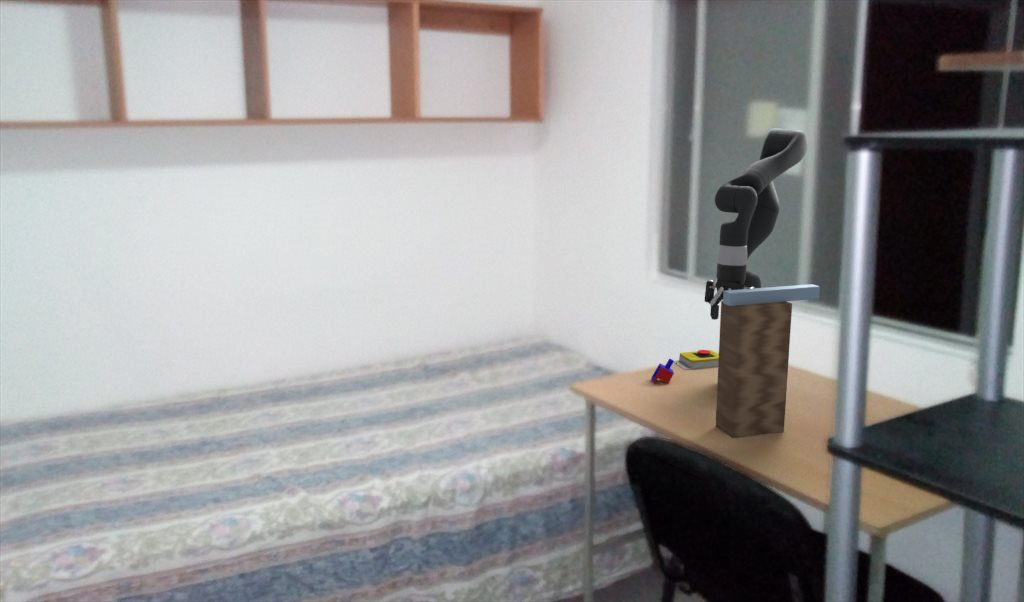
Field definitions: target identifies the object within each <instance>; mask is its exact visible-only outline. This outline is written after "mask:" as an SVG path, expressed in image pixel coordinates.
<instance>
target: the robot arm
mask: <svg viewBox="0 0 1024 602" xmlns="http://www.w3.org/2000/svg"><path fill="white" fill-rule="evenodd" d="M808 145H809V139H808V136H807V134H806V133H805V132H804V131H802V130H797V129H789V128H788V129H786V128H778V127H777V128H776V127H775V128H772V129H770V130H769V131H768V132H767V133H766V135H765V139H764V141H763V144H762V147H761V153H760V157H759V160H758V161H755V162H753V163H752V164H750V165H749V166H748V167H747V168H746V169H745V170H744V171H743V172H742V173H741V175H739V176H737V177H735V178H733V179H731V180H729V181H727V182H725V183H724V184H722V185H721V186H720V187H719V188H718V189H717V191H716V194H715V196H714V204H715V206H716V208H717V209H718V211H720V212H723V213H732V214H737V217H736V219H735V220H734V221H733V220H732V221H725V222H723V223H722V224H721V225H720V228H719V229H720V230H719V245H718V250H717V261H716V277H715V278H716V279H717V280H715V279H710V280H706V282H705V283H706V284H705V291H704V302H705V303H708V305H710V317H711V320H718V319H719V317H720V315H719V313H720V312H719V311H720V305H719V304H721V301H723V294H724V291H727V290H741V289H754V288H762V282H761V277H760V276H759V274H758V273H756V272H753V271H748V270H747V264H748V259H749V258H750V256H751V255H752V254H753V253H754V252H755V250H757V248H759V247H760V246H761V244H763V243H764V241H766V240H767V238H768V237H770V235H771V234H772V233H773V230H774V228H775V225H776V221H778V220H777V219H778V216H779V214H780V210H781V209H780V201H779V198H778V197H779V196H778V194H777V191H776V188H775V184H774V180H775V179H776V178H778V177H779V176H781V175H782V174H784V173H785V172H787V171H788V170H790V169H791V168H793V167H794V166H796V165H798V164H799V163H800V162H801V161H802V160H803V159H804V157H805V156H806V154H807V151H808V148H809V147H808ZM715 290H716V292H715Z"/></svg>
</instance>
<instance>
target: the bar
mask: <svg viewBox="0 0 1024 602" xmlns="http://www.w3.org/2000/svg"><path fill="white" fill-rule="evenodd" d="M820 288H821V286H819V285H816V284H811V283H809V284H798V285H797V284H796V285H783V286H782V285H781V286H771V287H761V288H754V289H741V290H727V291H724V294H723V300H722V301H723V303H724V304H726V305H729V306H735V305H747V304H760V303H772V302H785V301H786V302H793V301H794V302H797V301H807V300H809V301H810V300H819V299H820V293H821V292H820V291H821V289H820Z"/></svg>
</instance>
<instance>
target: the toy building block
mask: <svg viewBox="0 0 1024 602" xmlns="http://www.w3.org/2000/svg"><path fill="white" fill-rule="evenodd" d="M674 361H675V360H674V359H672V358H670V357H669V359H668V361H666V364H665V365H664V364H662V363H659V364H658V365H657V368H656V369H655V370H654V373H653V374H652V375H651V377H650V378H651V382H652V383H653V384H656V383H657V381H658V380H660V381H662V382H664V383H666V384H669V383H670V381H671V380H672V377H673V376H674V374H675V372H674V370H673V369H672V368H671V367H672V366H673V363H674Z"/></svg>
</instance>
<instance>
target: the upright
mask: <svg viewBox="0 0 1024 602" xmlns="http://www.w3.org/2000/svg"><path fill="white" fill-rule="evenodd" d="M792 312H793V302H792V303H791V302H790V301H785V302H772V303H760V304H747V305H735V306H729V305H726V304H724V303H723V300H721V301H720V316H719V317H720V321H719V323H720V325H719V340H718V341H719V342H718V343H719V344H718V354H719V361H718V367H717V384H716V385H717V386H716V387H717V388H716V410H715V427H716V428H717V429H718V430H720V431H721V432H723V433H724V434H725V435H727V436H729V438H731V439H739V438H746V437H754V436H761V435H769V434H777V433H784V432H785V423H786V422H785V420H786V419H785V418H786V405H787V404H786V403H787V391H788V390H787V387H788V377H789V376H788V375H789V373H788V372H789V358H790V343H791V328H792V327H791V326H792Z"/></svg>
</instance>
